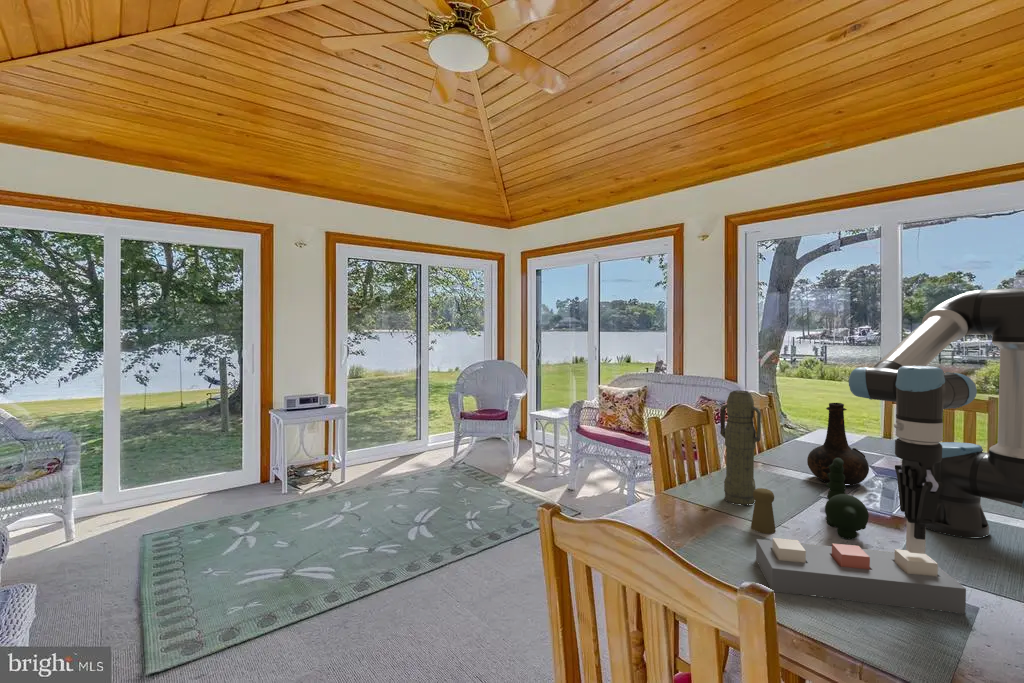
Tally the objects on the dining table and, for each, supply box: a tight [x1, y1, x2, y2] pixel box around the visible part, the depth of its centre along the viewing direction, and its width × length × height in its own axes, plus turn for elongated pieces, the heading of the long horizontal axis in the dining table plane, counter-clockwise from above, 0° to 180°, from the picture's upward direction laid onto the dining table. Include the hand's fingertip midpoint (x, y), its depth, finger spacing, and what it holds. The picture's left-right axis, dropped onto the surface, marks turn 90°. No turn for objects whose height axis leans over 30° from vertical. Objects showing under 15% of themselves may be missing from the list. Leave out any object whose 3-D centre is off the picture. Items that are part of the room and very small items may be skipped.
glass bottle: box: [807, 402, 870, 486], centre depth 169 cm, size 18×18×28 cm
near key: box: [894, 548, 939, 576], centre depth 101 cm, size 5×5×4 cm
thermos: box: [719, 390, 762, 505], centre depth 152 cm, size 9×12×35 cm
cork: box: [750, 487, 776, 535], centre depth 132 cm, size 6×6×11 cm
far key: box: [772, 537, 806, 563], centre depth 107 cm, size 5×5×4 cm
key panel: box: [755, 538, 967, 615], centre depth 104 cm, size 34×14×5 cm, turn 76°
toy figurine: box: [824, 458, 870, 540], centre depth 131 cm, size 9×19×25 cm
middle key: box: [831, 543, 870, 570], centre depth 104 cm, size 5×5×4 cm
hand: (915, 551), depth 101 cm, fingers closed
